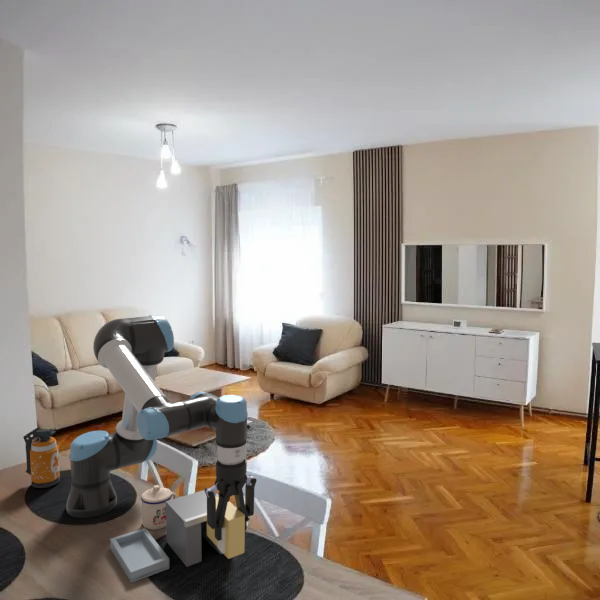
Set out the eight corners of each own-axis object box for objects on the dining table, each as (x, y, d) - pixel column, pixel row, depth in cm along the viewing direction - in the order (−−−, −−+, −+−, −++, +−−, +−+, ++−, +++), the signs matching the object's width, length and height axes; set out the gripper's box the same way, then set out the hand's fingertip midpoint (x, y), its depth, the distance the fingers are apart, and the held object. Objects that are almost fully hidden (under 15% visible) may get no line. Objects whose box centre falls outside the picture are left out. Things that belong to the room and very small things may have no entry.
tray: (110, 548, 146) (110, 538, 146) (145, 536, 152) (145, 527, 152) (131, 582, 132) (131, 572, 132) (169, 568, 138) (169, 558, 137)
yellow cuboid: (206, 535, 138) (206, 499, 137) (222, 530, 141) (222, 494, 140) (228, 558, 129) (228, 520, 127) (244, 552, 131) (244, 515, 130)
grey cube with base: (166, 542, 150) (165, 500, 148) (211, 526, 158) (210, 486, 156) (186, 566, 138) (185, 521, 137) (233, 549, 147) (233, 506, 145)
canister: (52, 490, 180) (49, 433, 178) (20, 489, 180) (17, 433, 178) (64, 478, 189) (62, 424, 187) (33, 477, 189) (31, 424, 187)
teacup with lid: (154, 534, 154) (153, 496, 152) (135, 524, 159) (134, 487, 158) (186, 517, 163) (185, 481, 162) (167, 508, 169) (166, 473, 167)
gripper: (205, 473, 121) (205, 567, 124) (269, 456, 131) (268, 542, 134) (191, 461, 127) (192, 551, 130) (254, 445, 137) (253, 529, 140)
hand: (230, 546), depth 132 cm, fingers closed on yellow cuboid, 4 cm apart
